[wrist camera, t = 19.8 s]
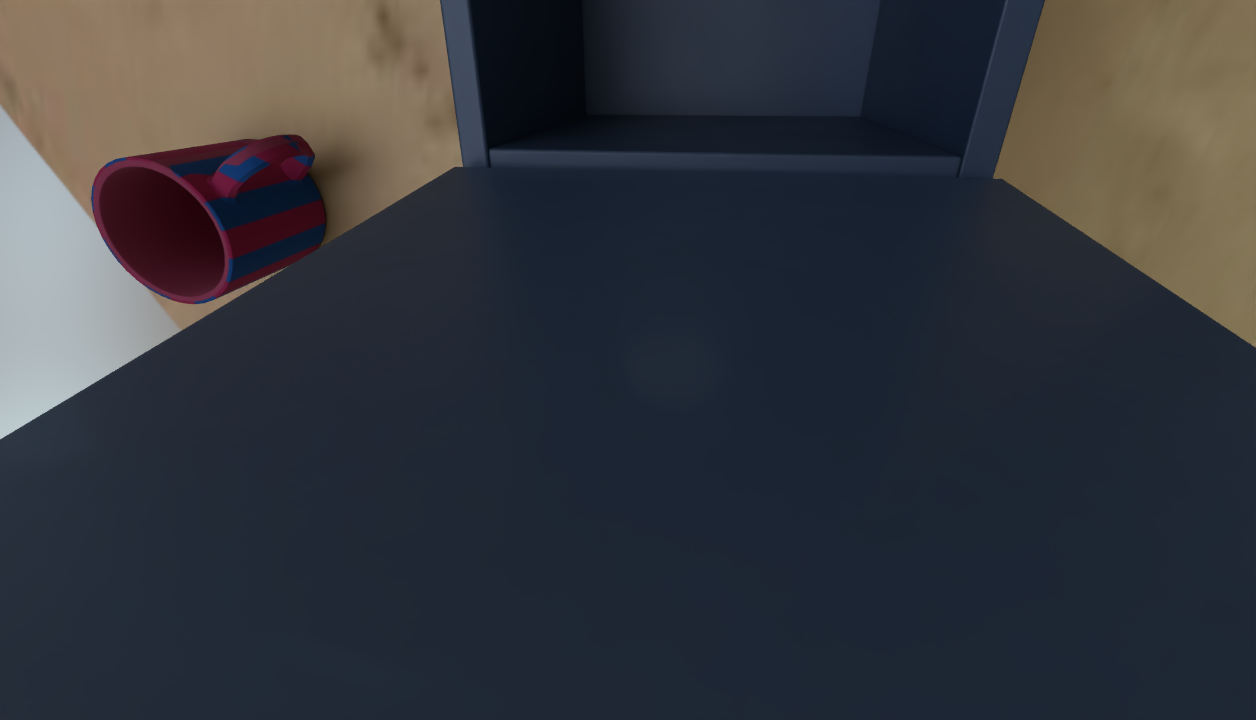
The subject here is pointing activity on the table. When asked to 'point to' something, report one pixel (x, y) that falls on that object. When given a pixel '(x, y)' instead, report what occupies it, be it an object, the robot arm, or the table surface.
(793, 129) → the chest
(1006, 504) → the chest lid
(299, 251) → the cup
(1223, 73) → the table surface
